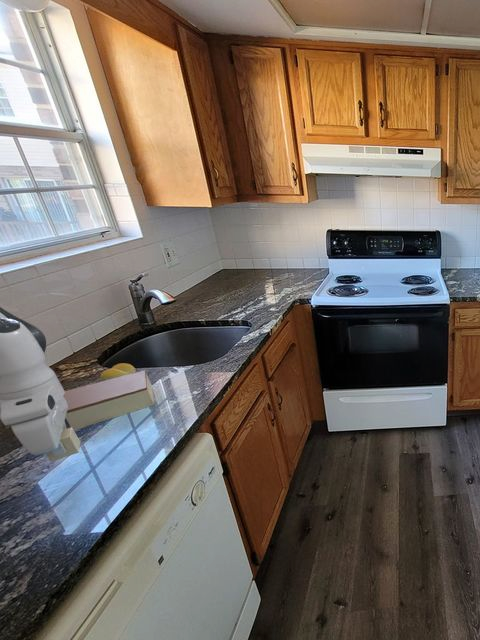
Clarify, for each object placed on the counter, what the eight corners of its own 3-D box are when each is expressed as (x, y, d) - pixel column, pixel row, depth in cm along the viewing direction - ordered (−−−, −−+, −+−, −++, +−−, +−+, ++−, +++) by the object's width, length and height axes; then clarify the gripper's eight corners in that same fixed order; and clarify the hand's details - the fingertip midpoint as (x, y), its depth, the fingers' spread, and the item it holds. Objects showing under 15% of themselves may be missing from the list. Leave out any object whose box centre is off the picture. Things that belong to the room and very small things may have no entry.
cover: (58, 415, 94) (57, 413, 94) (65, 393, 103) (64, 391, 103) (147, 389, 104) (146, 387, 104) (145, 371, 114) (145, 370, 114)
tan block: (50, 462, 79) (40, 445, 77) (53, 451, 82) (44, 435, 80) (78, 452, 82) (69, 436, 80) (80, 442, 85) (72, 426, 83)
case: (72, 430, 97) (63, 414, 94) (77, 408, 106) (69, 392, 104) (154, 404, 107) (147, 389, 104) (152, 386, 116) (145, 371, 114)
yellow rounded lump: (96, 383, 119) (90, 372, 117) (124, 369, 127) (119, 359, 125) (115, 385, 117) (110, 374, 116) (142, 371, 125) (137, 361, 123)
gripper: (20, 379, 81) (50, 429, 87) (-3, 423, 67) (34, 479, 72) (59, 370, 85) (85, 418, 91) (45, 410, 70) (77, 464, 76)
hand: (62, 446), depth 81 cm, fingers closed on tan block, 4 cm apart
